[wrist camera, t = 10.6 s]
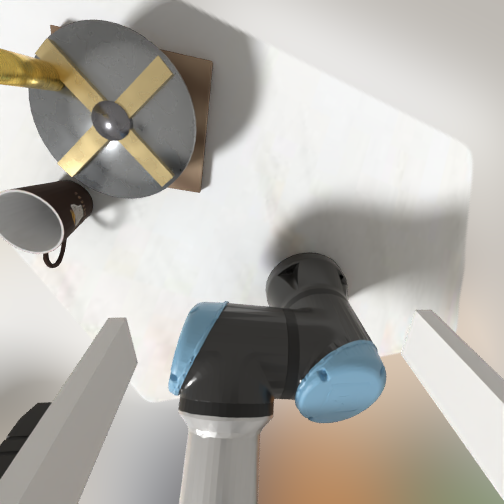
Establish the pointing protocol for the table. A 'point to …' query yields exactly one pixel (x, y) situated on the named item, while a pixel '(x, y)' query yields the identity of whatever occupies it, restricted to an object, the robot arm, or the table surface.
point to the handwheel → (108, 107)
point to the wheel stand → (199, 87)
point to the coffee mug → (43, 216)
